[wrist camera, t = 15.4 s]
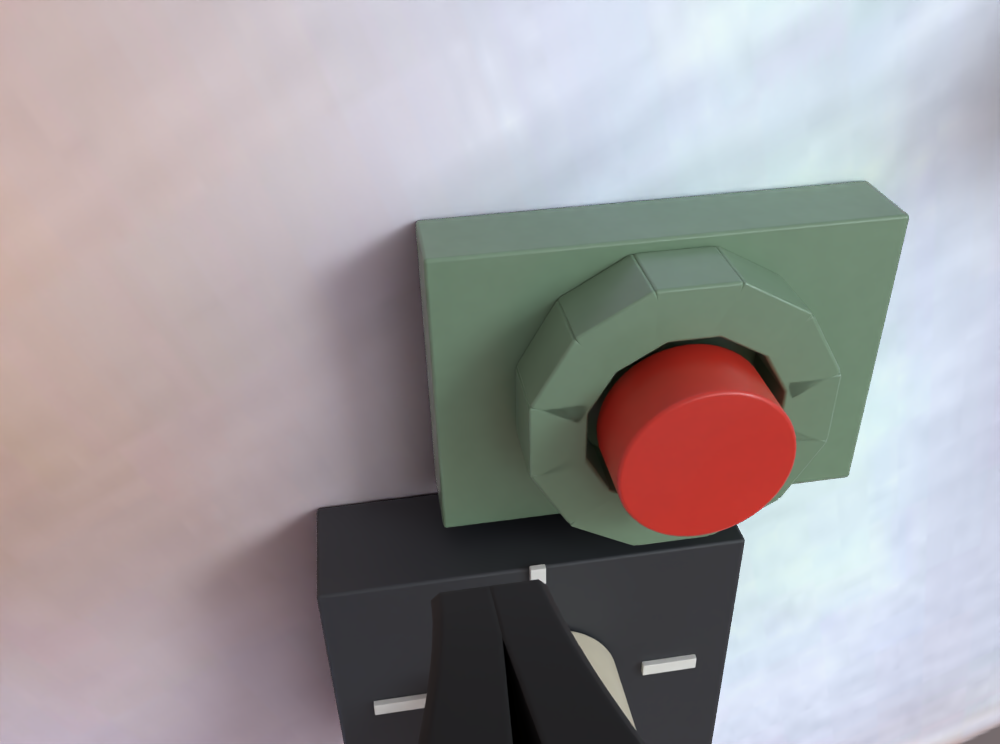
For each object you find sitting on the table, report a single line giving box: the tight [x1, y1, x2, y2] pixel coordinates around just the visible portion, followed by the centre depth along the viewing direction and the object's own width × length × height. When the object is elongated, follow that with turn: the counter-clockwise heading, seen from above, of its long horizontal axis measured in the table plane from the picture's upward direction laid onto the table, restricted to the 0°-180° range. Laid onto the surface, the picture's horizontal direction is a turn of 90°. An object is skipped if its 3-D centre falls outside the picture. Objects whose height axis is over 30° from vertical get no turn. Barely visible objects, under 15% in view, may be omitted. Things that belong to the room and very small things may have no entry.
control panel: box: [317, 494, 745, 744], centre depth 25 cm, size 10×8×3 cm
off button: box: [596, 344, 796, 537], centre depth 19 cm, size 4×4×2 cm
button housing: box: [415, 181, 909, 546], centre depth 21 cm, size 10×7×4 cm
